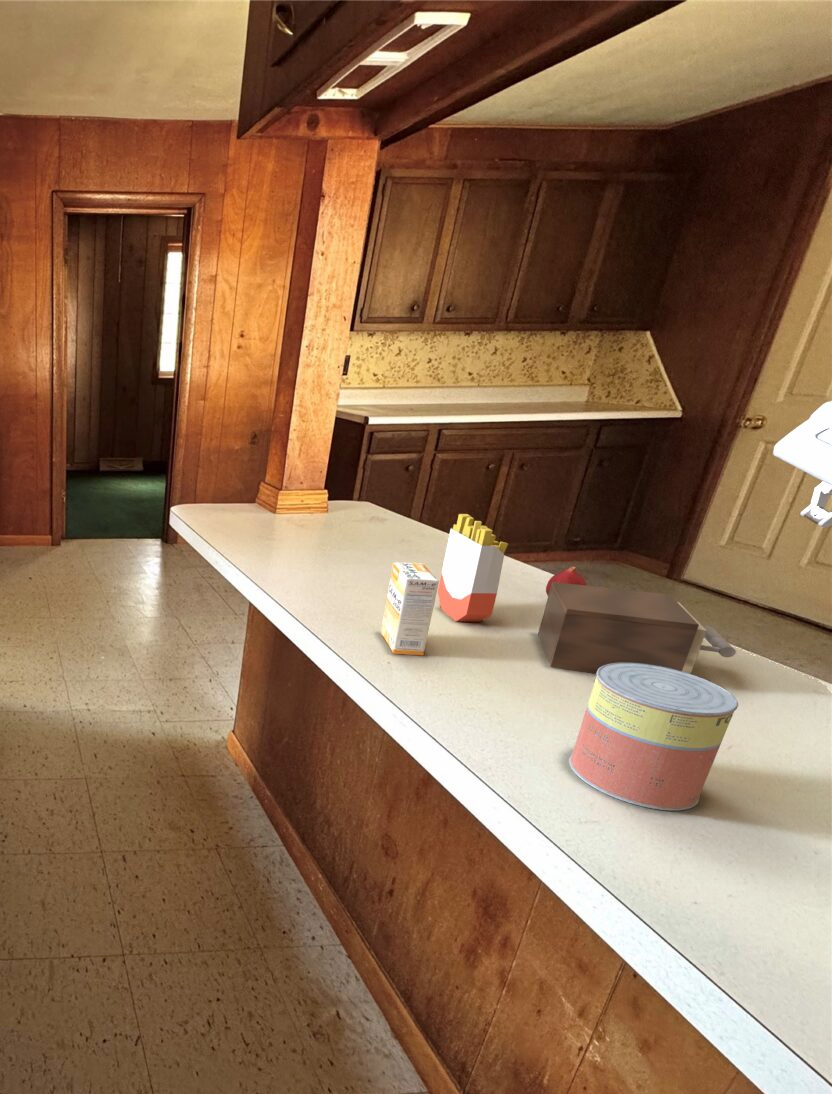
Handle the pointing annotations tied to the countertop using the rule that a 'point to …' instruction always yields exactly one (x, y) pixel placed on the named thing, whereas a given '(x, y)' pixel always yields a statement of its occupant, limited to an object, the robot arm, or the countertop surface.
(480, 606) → the french fries container
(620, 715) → the canned food
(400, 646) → the supplement box
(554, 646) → the cabinet
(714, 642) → the drawer
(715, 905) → the countertop surface
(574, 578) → the onion
